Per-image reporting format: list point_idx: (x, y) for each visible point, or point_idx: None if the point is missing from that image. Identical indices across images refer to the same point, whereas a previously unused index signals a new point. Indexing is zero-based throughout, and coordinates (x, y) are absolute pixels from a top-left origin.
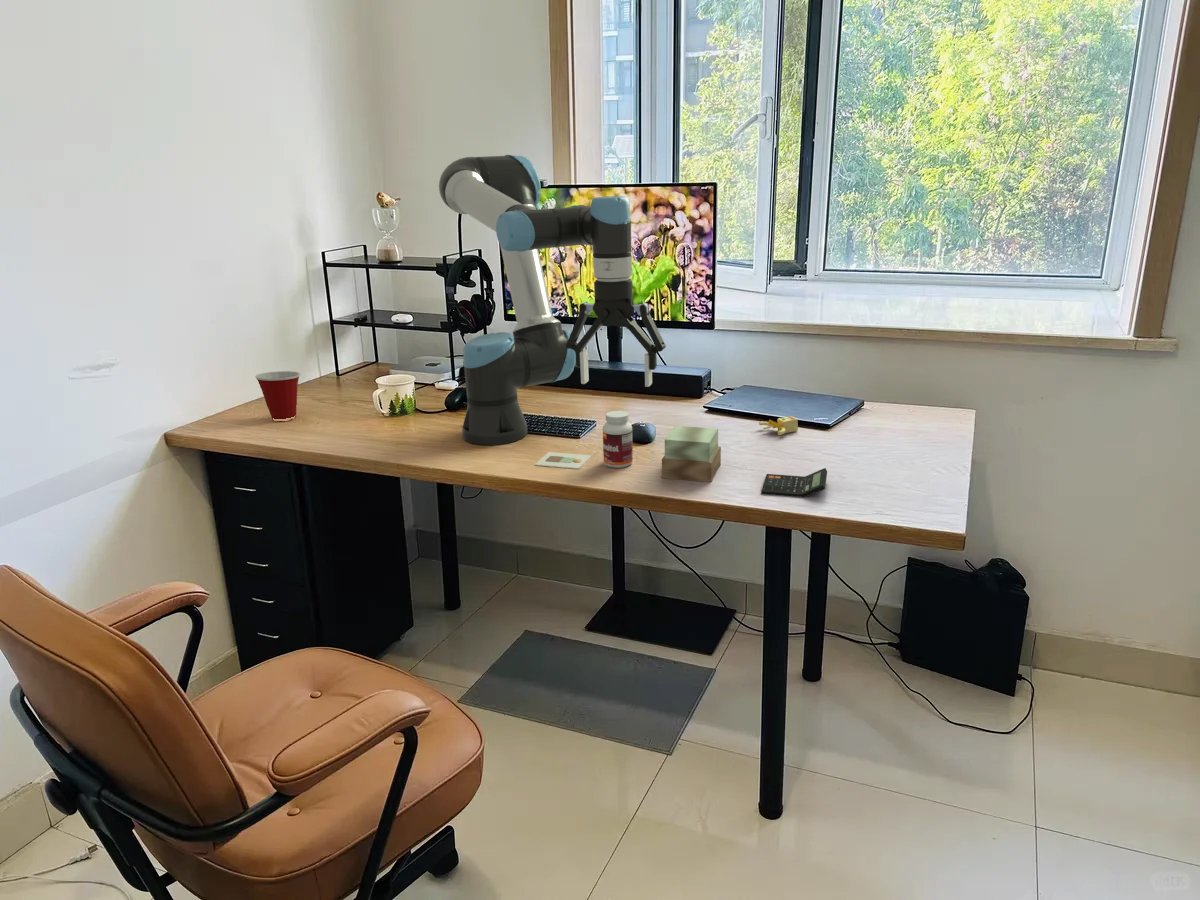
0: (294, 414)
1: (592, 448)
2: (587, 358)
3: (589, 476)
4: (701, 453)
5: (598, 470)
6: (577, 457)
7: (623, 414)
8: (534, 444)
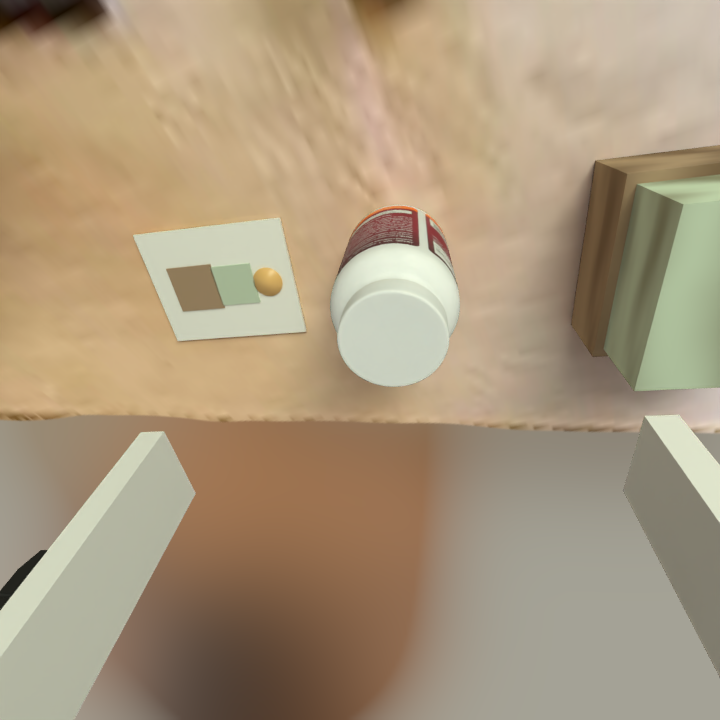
0: None
1: (234, 129)
2: (50, 600)
3: None
4: None
5: None
6: (248, 252)
7: (427, 343)
8: (24, 166)
